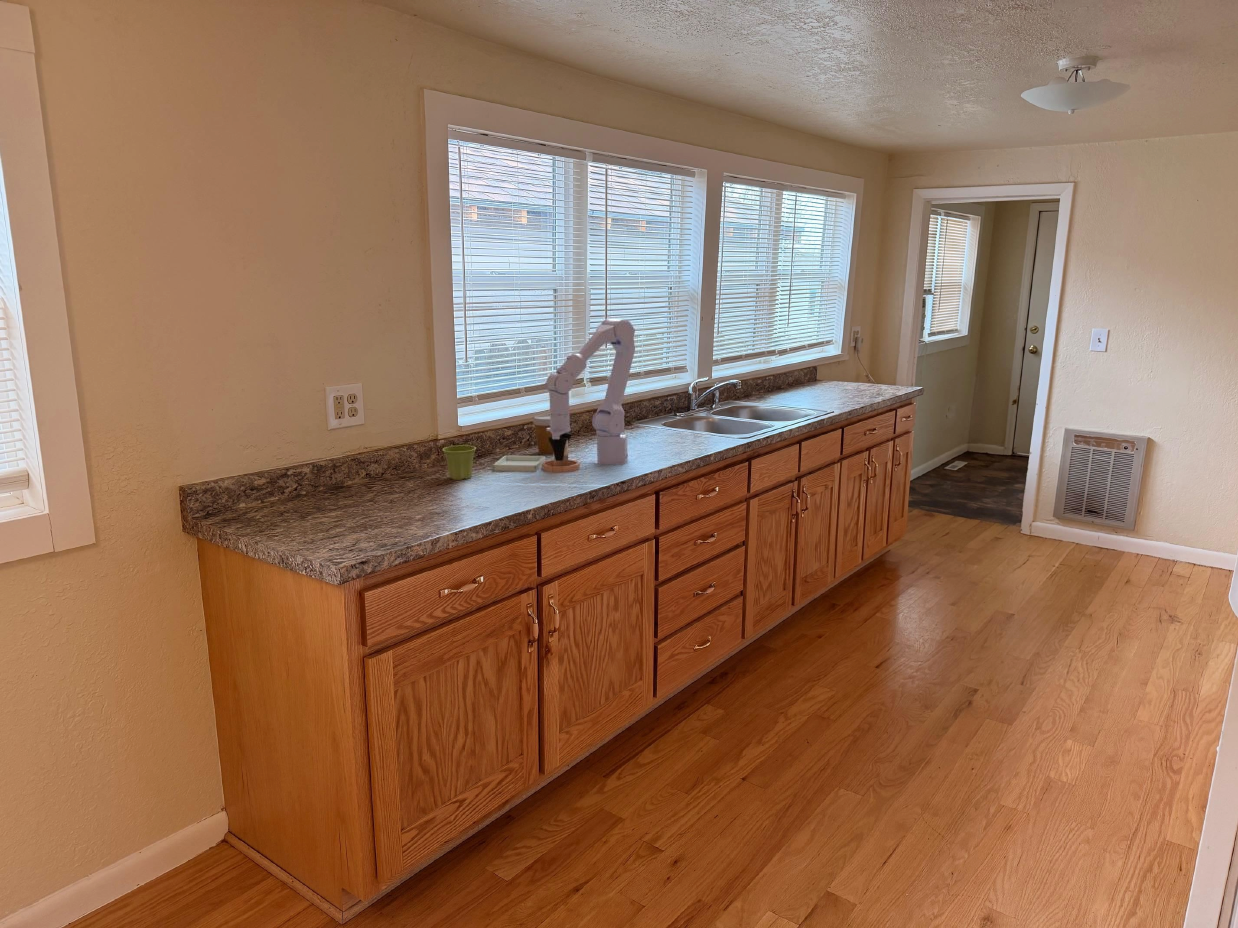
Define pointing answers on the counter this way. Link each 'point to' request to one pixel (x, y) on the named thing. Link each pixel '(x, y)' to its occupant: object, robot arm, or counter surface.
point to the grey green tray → (519, 463)
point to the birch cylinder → (565, 459)
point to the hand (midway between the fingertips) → (560, 458)
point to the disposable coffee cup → (543, 434)
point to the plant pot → (459, 461)
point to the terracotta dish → (550, 466)
